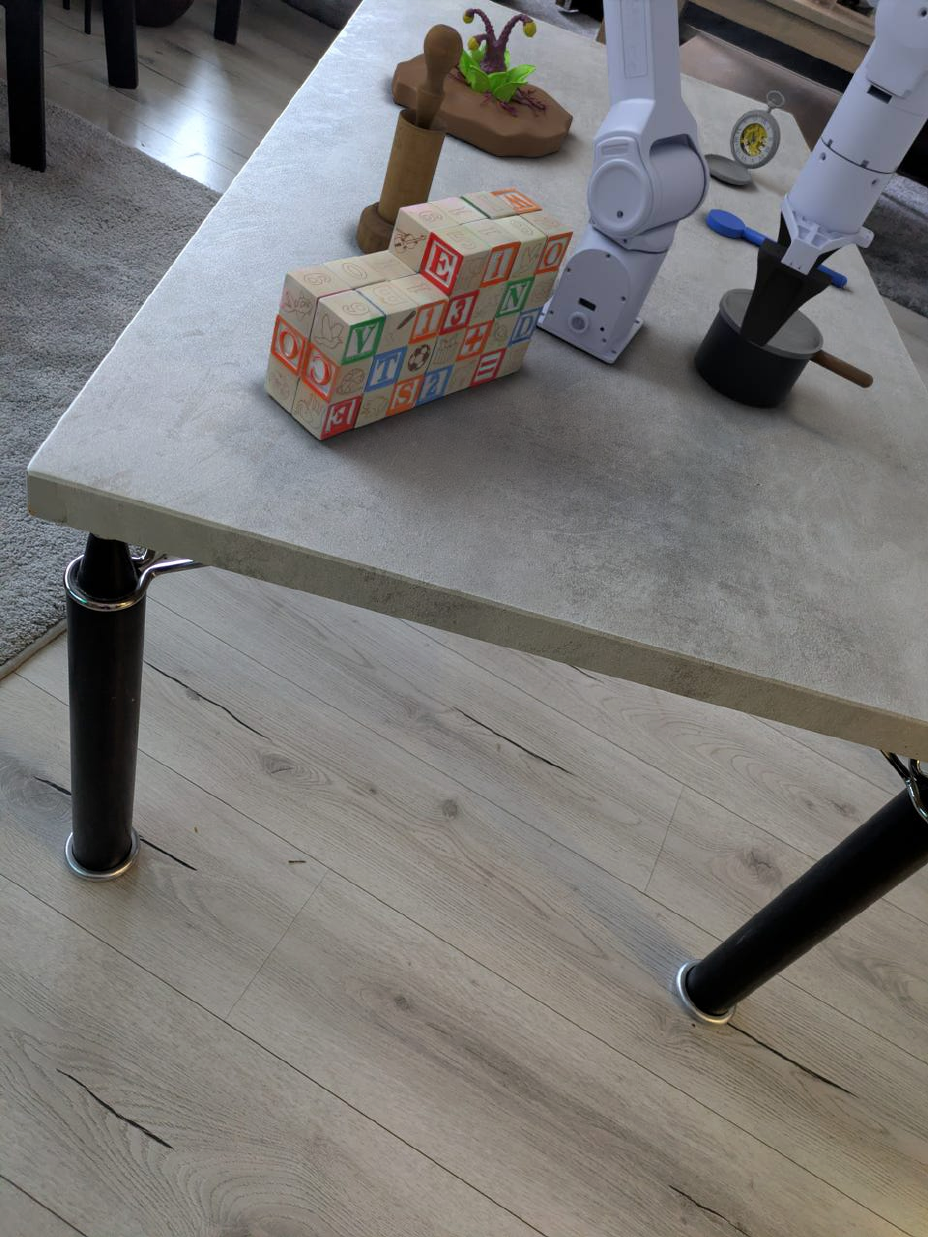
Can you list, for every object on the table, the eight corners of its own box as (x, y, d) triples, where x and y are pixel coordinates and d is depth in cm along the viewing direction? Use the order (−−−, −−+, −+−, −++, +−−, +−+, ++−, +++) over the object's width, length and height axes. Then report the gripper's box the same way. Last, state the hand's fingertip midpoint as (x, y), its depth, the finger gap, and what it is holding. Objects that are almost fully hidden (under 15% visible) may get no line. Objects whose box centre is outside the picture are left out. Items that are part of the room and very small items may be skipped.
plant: (514, 174, 105) (551, 64, 97) (364, 90, 108) (388, -24, 100) (587, 136, 119) (625, 37, 111) (453, 63, 122) (480, -39, 114)
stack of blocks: (319, 445, 66) (359, 280, 57) (260, 390, 68) (290, 223, 59) (520, 370, 79) (577, 228, 71) (466, 327, 81) (515, 183, 73)
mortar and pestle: (346, 223, 87) (395, 0, 74) (413, 230, 90) (471, 17, 77) (367, 265, 83) (423, 38, 71) (437, 271, 86) (502, 53, 74)
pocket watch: (697, 173, 122) (737, 89, 115) (701, 150, 128) (739, 70, 121) (758, 198, 122) (801, 117, 115) (759, 175, 128) (800, 96, 121)
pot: (831, 454, 85) (872, 398, 81) (679, 373, 87) (710, 314, 83) (847, 406, 92) (885, 352, 88) (705, 332, 94) (735, 275, 89)
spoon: (846, 281, 113) (852, 272, 112) (840, 295, 109) (846, 285, 109) (711, 212, 114) (715, 203, 113) (701, 224, 111) (706, 214, 110)
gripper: (901, 208, 63) (791, 382, 73) (918, 152, 74) (819, 310, 83) (801, 160, 64) (705, 338, 74) (832, 110, 74) (744, 273, 84)
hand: (760, 321), depth 78 cm, fingers open, 7 cm apart
